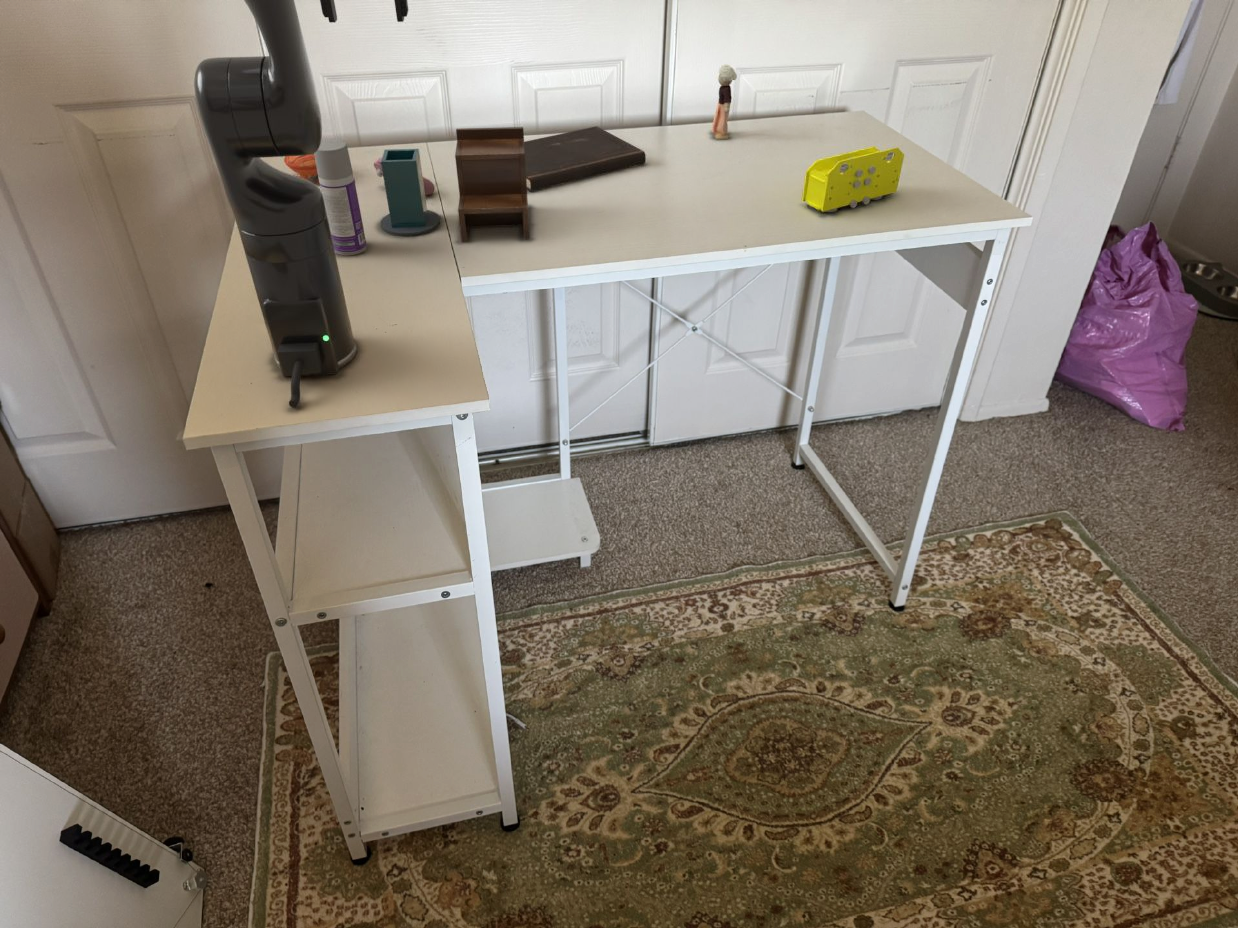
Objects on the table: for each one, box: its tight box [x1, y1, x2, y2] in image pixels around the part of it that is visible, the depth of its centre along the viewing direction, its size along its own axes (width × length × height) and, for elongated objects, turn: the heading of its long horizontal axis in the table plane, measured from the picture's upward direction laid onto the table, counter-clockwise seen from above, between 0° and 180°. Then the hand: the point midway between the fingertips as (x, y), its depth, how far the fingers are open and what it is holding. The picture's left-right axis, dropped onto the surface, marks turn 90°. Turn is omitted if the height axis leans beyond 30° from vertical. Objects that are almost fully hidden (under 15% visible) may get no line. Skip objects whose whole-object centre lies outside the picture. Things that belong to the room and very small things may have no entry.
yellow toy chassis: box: [801, 146, 905, 213], centre depth 138 cm, size 16×6×8 cm, turn 121°
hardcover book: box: [524, 125, 647, 192], centre depth 152 cm, size 16×23×2 cm
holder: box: [381, 148, 428, 228], centre depth 129 cm, size 5×5×10 cm
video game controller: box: [373, 156, 436, 196], centre depth 141 cm, size 10×5×7 cm, turn 45°
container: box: [314, 138, 368, 256], centre depth 121 cm, size 5×5×15 cm
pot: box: [283, 153, 318, 181], centre depth 145 cm, size 8×8×7 cm
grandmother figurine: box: [710, 64, 738, 140], centre depth 160 cm, size 8×4×13 cm, turn 10°
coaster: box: [380, 209, 442, 237], centre depth 133 cm, size 9×9×1 cm
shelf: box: [454, 126, 530, 242], centre depth 129 cm, size 12×10×12 cm
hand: (367, 21), depth 111 cm, fingers open, 8 cm apart
